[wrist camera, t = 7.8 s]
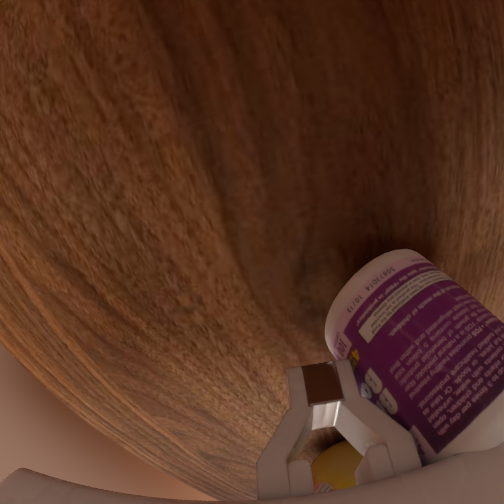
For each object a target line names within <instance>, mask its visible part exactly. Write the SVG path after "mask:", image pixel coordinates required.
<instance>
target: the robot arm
mask: <svg viewBox="0 0 504 504" xmlns="http://www.w3.org/2000/svg"><path fill="white" fill-rule="evenodd" d="M286 379H287V394H288V403H289V410H287V411H286V413H285V415H284V417H283V418H282V420H281V422H280V424H279V425H278V427H277V429H276V430H275V432H274V434H273V436H272V437H271V439H270V441H269V442H268V444H267V446H266V447H265V449H264V451H263V452H262V454H261V456H260V457H259V459H258V460H257V462H256V471H257V494H258V500H245V501H196V500H195V501H194V500H177V499H165V498H155V497H146V496H138V495H132V494H125V493H119V492H113V491H108V490H103V489H98V488H93V487H89V486H84V485H80V484H76V483H72V482H68V481H64V480H61V479H58V478H54V477H50V476H47V475H44V474H41V473H38V472H35V471H32V470H29V469H26V468H19V469H17V470H16V471H14V472H13V473H12V474H10V475H9V476H8V477H6V479H4V480H3V481H2V482H1V483H0V504H504V442H502V443H501V444H500V445H498V446H497V447H494V448H491V449H488V450H482V451H472V452H463V453H458V454H455V455H453V456H450V457H448V458H445V459H443V460H440V461H438V462H435V463H432V464H429V465H427V466H424V467H422V464H421V461H420V458H419V454H418V451H417V448H416V445H415V442H414V439H413V436H412V434H411V433H410V432H409V431H407V430H406V429H405V428H403V427H402V426H401V425H400V424H398V423H397V422H396V421H395V420H393V419H392V418H391V417H389V416H388V415H387V414H386V413H384V412H383V411H382V410H381V409H379V408H378V407H377V406H376V405H375V404H373V403H372V402H371V401H370V400H368V399H367V398H366V397H362V398H361V396H360V392H359V389H358V386H357V382H356V379H355V376H354V372H353V369H352V366H351V363H350V361H349V359H344V360H338V361H330V362H324V363H318V364H312V365H306V366H297V367H289V368H286ZM333 426H335V428H336V429H337V430H338V431H339V432H340V433H341V434H342V435H343V436H344V437H345V438H346V439H347V440H348V441H349V443H350V444H351V445H352V446H353V447H354V448H355V449H356V450H357V451H358V452H359V453H360V454H361V455H362V456H363V458H362V460H361V462H360V464H359V465H358V467H357V469H356V470H355V472H354V473H355V478H356V484H357V486H354V487H349V488H344V489H339V490H334V491H328V492H323V493H316V494H315V492H314V486H313V479H312V472H311V466H310V461H308V460H306V459H299V460H298V458H299V456H300V454H301V452H302V450H303V448H304V446H305V444H306V442H307V440H308V438H309V436H310V433H311V431H312V430H314V429H320V428H326V427H333Z"/></svg>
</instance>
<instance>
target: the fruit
mask: <svg viewBox="0 0 504 504" xmlns="http://www.w3.org/2000/svg"><path fill="white" fill-rule="evenodd" d="M362 458H363V456H362V455H361V454H360V453H359V452H358V451H357V450H356V449H355V448H354V447H353V446H352V445H351V444H350V443H349V441H348V440H345V441H342V442H339V443H337V444H335V445H333V446H331V447H330V448H328V449H327V450H325V451H324V452H323V453H321V454H320V455H319V456H318V457H317V458H316V460H315V461H314V462H313V463H312V465H311V472H312V479H313V486H314V492H315V494H316V493H323V492H328V491H334V490H339V489H344V488H349V487H354V486H357V484H356V478H355V473H354V472H355V470H356V469H357V467H358V465H359V464H360V462H361V460H362Z"/></svg>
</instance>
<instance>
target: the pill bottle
mask: <svg viewBox="0 0 504 504" xmlns="http://www.w3.org/2000/svg"><path fill="white" fill-rule="evenodd" d="M325 339H326V343H327V346H328V348H329V350H330V351H331V353H332V354H333V355H334V357H335V358H336V360H337V361H338V360H344V359H349V361H350V363H351V366H352V369H353V372H354V376H355V379H356V382H357V386H358V389H359V392H360V393H361V394H362V396H363V397H366V398H367V399H368V400H370V401H371V402H372V403H373V404H375V405H376V406H377V407H378V408H379V409H381V410H382V411H383V412H384V413H386V414H387V415H388V416H389V417H391V418H392V419H393V420H395V421H396V422H397V423H398V424H400V425H401V426H402V427H403V428H405V429H406V430H407V431H409V432H410V433H411V434H412V436H413V439H414V442H415V445H416V448H417V451H418V454H419V458H420V461H421V464H422V467H424V466H427V465H429V464H432V463H435V462H438V461H440V460H443V459H445V458H448V457H450V456H453V455H455V454H458V453H463V452H472V451H482V450H488V449H491V448H494V447H497V446H498V445H500V444H501V443H502V442H504V324H503V323H502V322H501V321H500V320H499V319H498V318H497V317H496V316H494V315H493V314H492V313H491V312H490V311H489V310H488V309H486V308H485V307H484V306H483V305H482V304H481V303H480V302H478V301H477V300H476V299H475V298H474V297H473V296H471V295H470V294H469V293H468V292H467V291H466V290H464V289H463V288H462V287H461V286H459V285H458V284H457V283H456V282H454V281H453V280H452V279H451V278H450V277H449V276H448V275H446V274H445V273H444V272H442V271H441V270H440V269H439V268H437V267H436V266H435V265H434V264H433V263H431V262H430V261H428V260H427V259H426V258H424V257H423V256H422V255H420V254H419V253H417V252H415V251H413V250H410V249H400V250H393V251H390V252H387V253H384V254H383V255H381V256H379V257H376V258H375V259H373V260H372V261H370V262H369V263H367V264H366V265H365V266H363V267H362V268H361V269H360V270H359V271H358V272H357V273H355V274H354V275H353V276H352V277H351V278H350V280H349V281H348V282H347V283H346V284H345V286H344V287H343V288H342V289H341V290H340V292H339V293H338V295H337V297H336V298H335V300H334V301H333V303H332V305H331V307H330V310H329V312H328V315H327V319H326V323H325Z"/></svg>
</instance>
